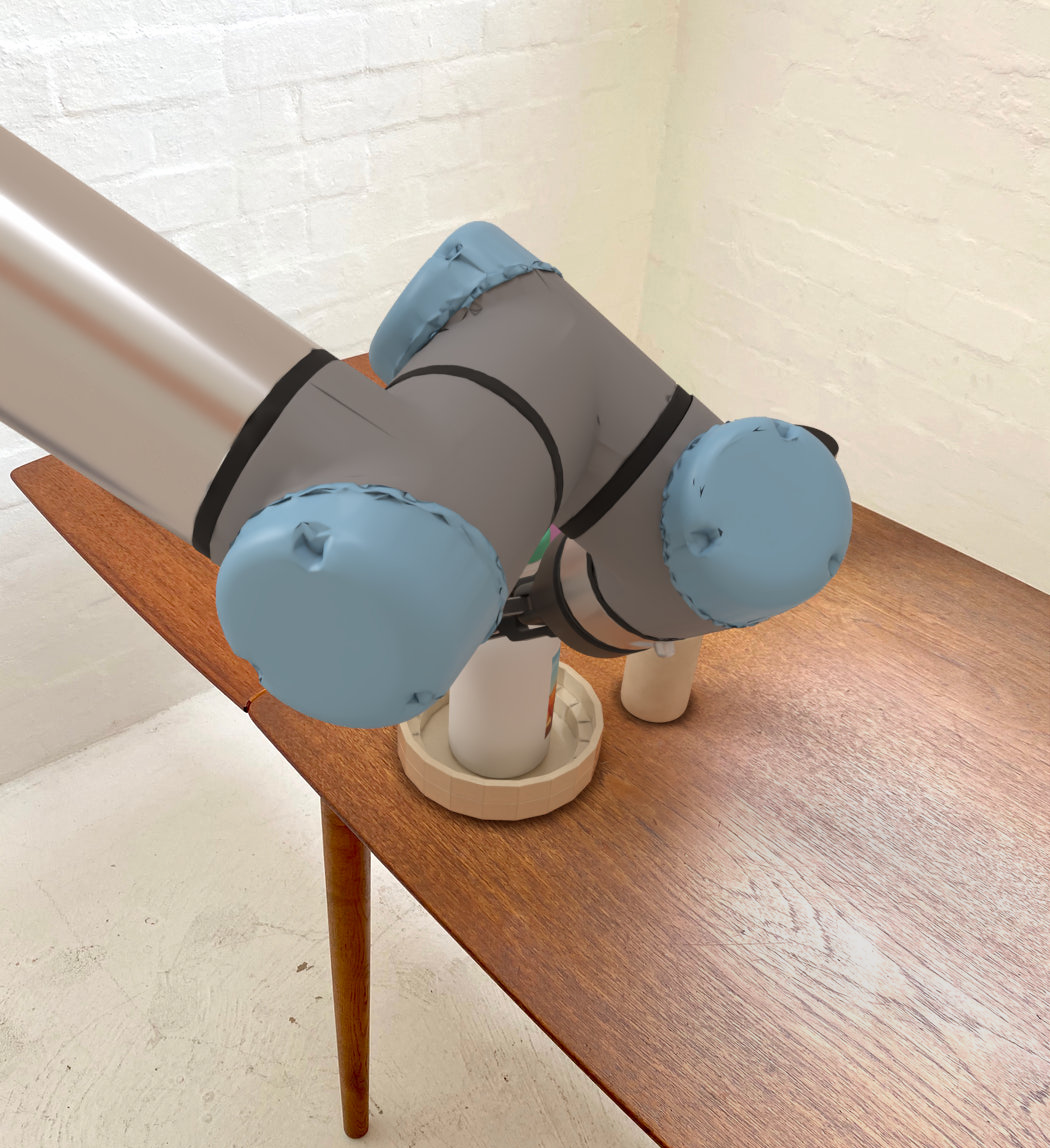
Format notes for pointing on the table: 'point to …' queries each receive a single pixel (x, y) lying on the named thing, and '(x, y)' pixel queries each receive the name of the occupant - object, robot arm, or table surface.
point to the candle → (660, 681)
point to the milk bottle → (506, 701)
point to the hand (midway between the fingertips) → (513, 628)
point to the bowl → (516, 796)
